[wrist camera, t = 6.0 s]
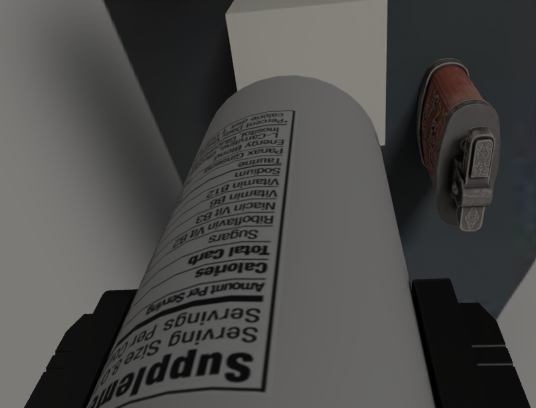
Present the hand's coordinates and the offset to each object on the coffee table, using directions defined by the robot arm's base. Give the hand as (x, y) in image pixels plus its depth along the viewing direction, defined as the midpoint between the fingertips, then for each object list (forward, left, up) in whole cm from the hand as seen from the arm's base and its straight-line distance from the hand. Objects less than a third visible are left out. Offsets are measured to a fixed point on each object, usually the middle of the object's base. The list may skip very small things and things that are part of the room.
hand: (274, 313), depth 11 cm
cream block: (+1, 0, -21) cm, 21 cm away
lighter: (+8, +9, -25) cm, 28 cm away
